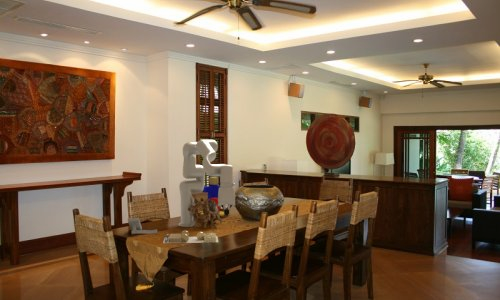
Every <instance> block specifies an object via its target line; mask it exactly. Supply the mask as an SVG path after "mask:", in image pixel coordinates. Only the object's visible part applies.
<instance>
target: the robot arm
mask: <svg viewBox="0 0 500 300" xmlns="http://www.w3.org/2000/svg"><path fill="white" fill-rule="evenodd" d="M218 148H219V145H218V142H217V141H216V140H215V139H200V140H198V141H195V142H194V141H191V142H186V143H184V144H183V147H182V157H183V163H182V164H183V165H182V176H183V178H185V180H183V181H181V182H180V183H179V185H178V186H179V189H178V190H179V195H180V222H179V223H178V224H177V225H178V226H179V227H183V228H189V227H194V224H195V220H193V218H195V215H194V216H192V211H190V212H189V211H188V208H189V207H190V208H191V206H195V203H194V201H195V198H194V197H193V195H192V194H201V193H203V192H202V191H203V189H204V186H205V180H206V175H207V176H208V177H209V178H210V177H219V179H220V182H219V184H220V185H219V186H220V188H219V191H218V206H220V208H222V209H223V212H224V215H225V216H224V217H229V215H230V209H231V208H232V207H235V206H236V194H235V186H236V183H235V182H233V180H234V179H233V177H234V176H233V174H234V172H233V170H234V169H233V168H234V167H233V165H231V164H226V163H217V164H216V163H214V164H213V163H212V162H213V161H215V159H216V157H217V154H216V152H217V151H218V150H219V149H218ZM195 155H198V156H199V155H201V157H202V159H203V160H202V162H201V163H202V164H197V158H196V156H195ZM186 179H188V180H186ZM226 205H227V207H226ZM191 209H193V208H191Z"/></svg>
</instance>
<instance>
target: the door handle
mask: <svg viewBox="0 0 500 300" xmlns="http://www.w3.org/2000/svg"><path fill="white" fill-rule="evenodd" d="M127 222H128V224H129V227H130V229H131V235H132V236H133V235H141V234H142V235H143V234H145V235H147V234H158V229H151V230H150V229H148V230H146V229H143V227H142V224H141V221H140V218H139V217H133V218H132V217H130V218H127Z"/></svg>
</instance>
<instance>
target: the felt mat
mask: <svg viewBox="0 0 500 300" xmlns="http://www.w3.org/2000/svg"><path fill="white" fill-rule="evenodd" d="M165 239H166V236H165V237H164V238H163V241H162V243H163V244H170V243H169V237H168V239H167V242H166V243H165ZM189 243H190V244H192V243H193V244H194V243H195V244H197V243H205V242H204V238H203V239H202V240H198V239H197V236H189V239H188V241H187V242H182V241H181V242H173V243H172V244H189ZM215 243H219V238H218V236H217V235H216V242H215Z"/></svg>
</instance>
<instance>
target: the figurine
mask: <svg viewBox="0 0 500 300" xmlns="http://www.w3.org/2000/svg"><path fill="white" fill-rule="evenodd" d="M208 182H209V183H208V184H209V185H204V189H203V191H202V192H201V193H206V194H207V199H210V200H213V201H215V203H216V205H217V207H218V211H219V214H220V216H221V217H225V216H224V211H222V210H221V211H220V209H221V207H220V206H218V191H219V188H220V185H219V176H215V177H210V176H209V179H208ZM210 200H209V201H210ZM199 214H200V215H202V214H204V213H203V211H202V212H200V213H199Z"/></svg>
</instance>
